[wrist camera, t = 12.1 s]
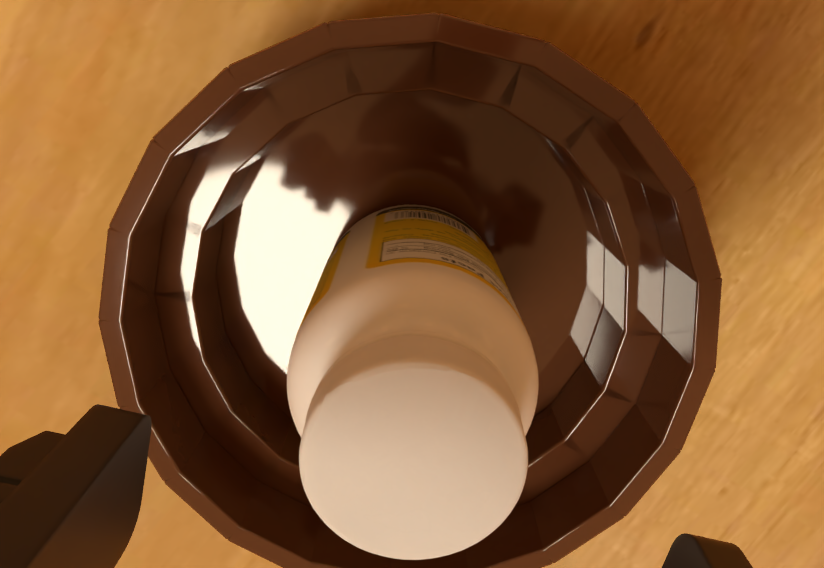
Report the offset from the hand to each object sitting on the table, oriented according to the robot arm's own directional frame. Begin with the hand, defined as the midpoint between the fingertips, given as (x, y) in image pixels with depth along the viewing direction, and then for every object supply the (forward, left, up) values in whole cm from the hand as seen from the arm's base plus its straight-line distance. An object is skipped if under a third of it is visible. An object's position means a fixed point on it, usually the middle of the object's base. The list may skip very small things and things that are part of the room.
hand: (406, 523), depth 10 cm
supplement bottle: (0, 0, -12) cm, 12 cm away
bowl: (0, 0, -12) cm, 12 cm away
